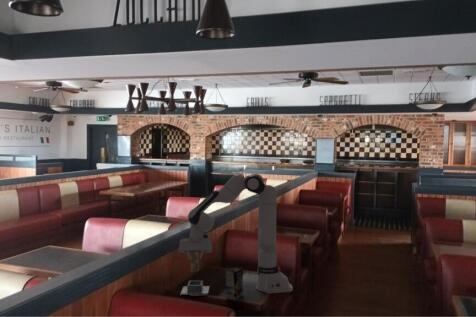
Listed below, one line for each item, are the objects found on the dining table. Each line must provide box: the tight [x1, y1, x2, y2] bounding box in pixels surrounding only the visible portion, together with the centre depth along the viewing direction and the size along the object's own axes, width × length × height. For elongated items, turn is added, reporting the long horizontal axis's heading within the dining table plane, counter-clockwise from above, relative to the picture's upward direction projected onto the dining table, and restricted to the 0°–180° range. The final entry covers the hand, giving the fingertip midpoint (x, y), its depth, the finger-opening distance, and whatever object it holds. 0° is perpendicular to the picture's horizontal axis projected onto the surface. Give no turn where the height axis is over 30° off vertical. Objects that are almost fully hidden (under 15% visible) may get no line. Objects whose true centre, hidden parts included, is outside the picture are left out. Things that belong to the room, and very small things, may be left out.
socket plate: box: [180, 280, 210, 297], centre depth 238 cm, size 16×12×6 cm
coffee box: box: [225, 267, 244, 301], centre depth 229 cm, size 9×6×16 cm
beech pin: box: [190, 251, 200, 272], centre depth 237 cm, size 4×4×11 cm
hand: (194, 258), depth 237 cm, fingers closed on beech pin, 4 cm apart
